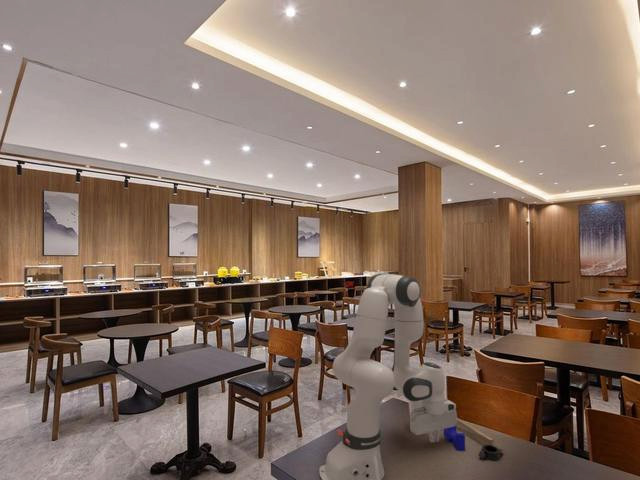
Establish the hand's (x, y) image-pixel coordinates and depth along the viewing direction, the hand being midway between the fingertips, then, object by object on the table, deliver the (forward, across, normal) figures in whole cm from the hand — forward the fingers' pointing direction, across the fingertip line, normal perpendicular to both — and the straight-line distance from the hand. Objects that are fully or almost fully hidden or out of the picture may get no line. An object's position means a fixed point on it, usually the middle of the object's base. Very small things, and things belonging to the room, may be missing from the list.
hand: (434, 441), depth 139 cm
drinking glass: (+2, +2, +13) cm, 13 cm away
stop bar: (+2, +16, +1) cm, 16 cm away
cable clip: (+2, +9, -1) cm, 9 cm away
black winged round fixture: (+2, +15, -14) cm, 20 cm away
